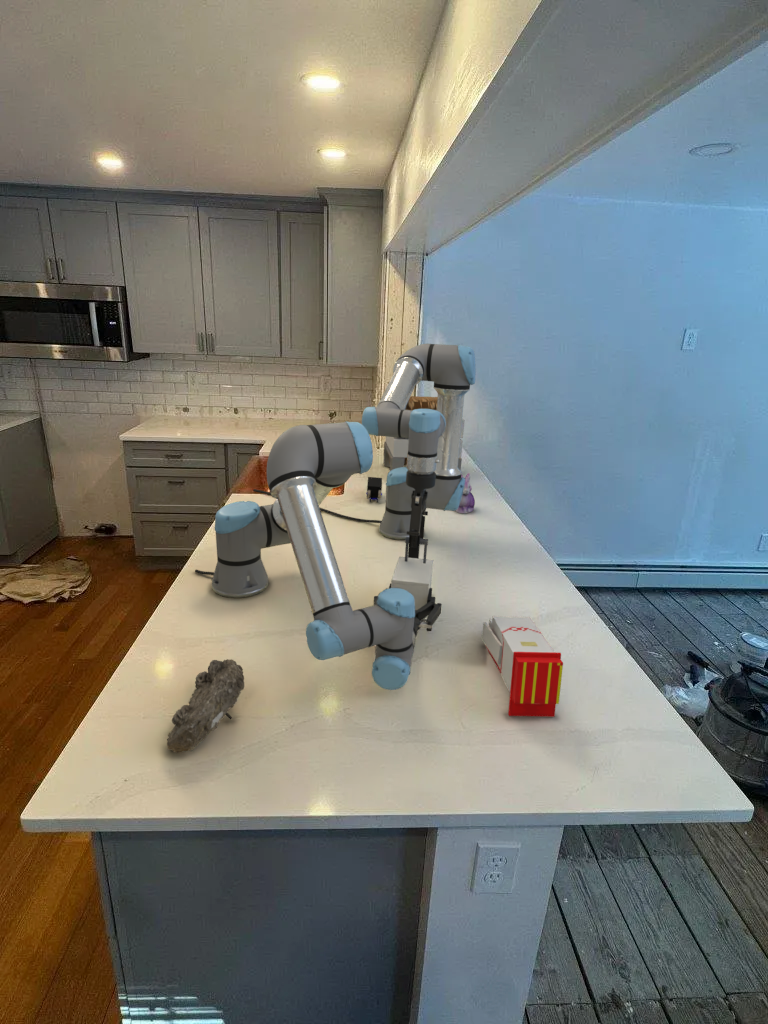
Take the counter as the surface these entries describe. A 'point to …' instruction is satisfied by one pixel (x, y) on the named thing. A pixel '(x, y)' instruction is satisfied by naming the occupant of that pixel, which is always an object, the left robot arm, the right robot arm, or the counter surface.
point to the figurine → (466, 497)
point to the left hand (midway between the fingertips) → (410, 590)
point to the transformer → (399, 446)
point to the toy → (525, 665)
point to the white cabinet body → (416, 592)
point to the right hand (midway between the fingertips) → (416, 547)
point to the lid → (413, 568)
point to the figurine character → (374, 488)
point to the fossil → (206, 705)
